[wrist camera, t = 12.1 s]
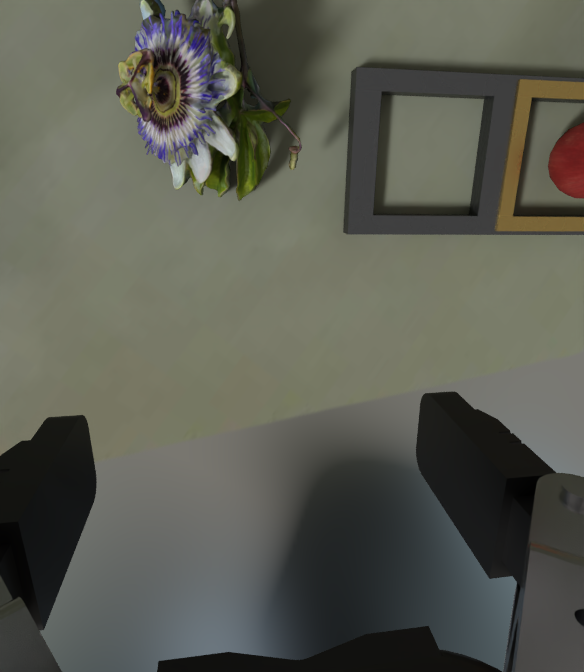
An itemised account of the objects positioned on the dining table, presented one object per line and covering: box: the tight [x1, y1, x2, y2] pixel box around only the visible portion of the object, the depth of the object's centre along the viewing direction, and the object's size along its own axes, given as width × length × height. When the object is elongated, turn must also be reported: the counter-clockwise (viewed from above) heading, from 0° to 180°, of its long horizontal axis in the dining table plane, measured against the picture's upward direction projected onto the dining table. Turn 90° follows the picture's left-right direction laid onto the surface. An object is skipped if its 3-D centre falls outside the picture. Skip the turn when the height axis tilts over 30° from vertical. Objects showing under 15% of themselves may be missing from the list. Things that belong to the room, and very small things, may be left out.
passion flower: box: [116, 0, 302, 201], centre depth 32 cm, size 11×11×12 cm
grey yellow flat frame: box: [343, 67, 584, 235], centre depth 39 cm, size 12×25×2 cm, turn 89°
